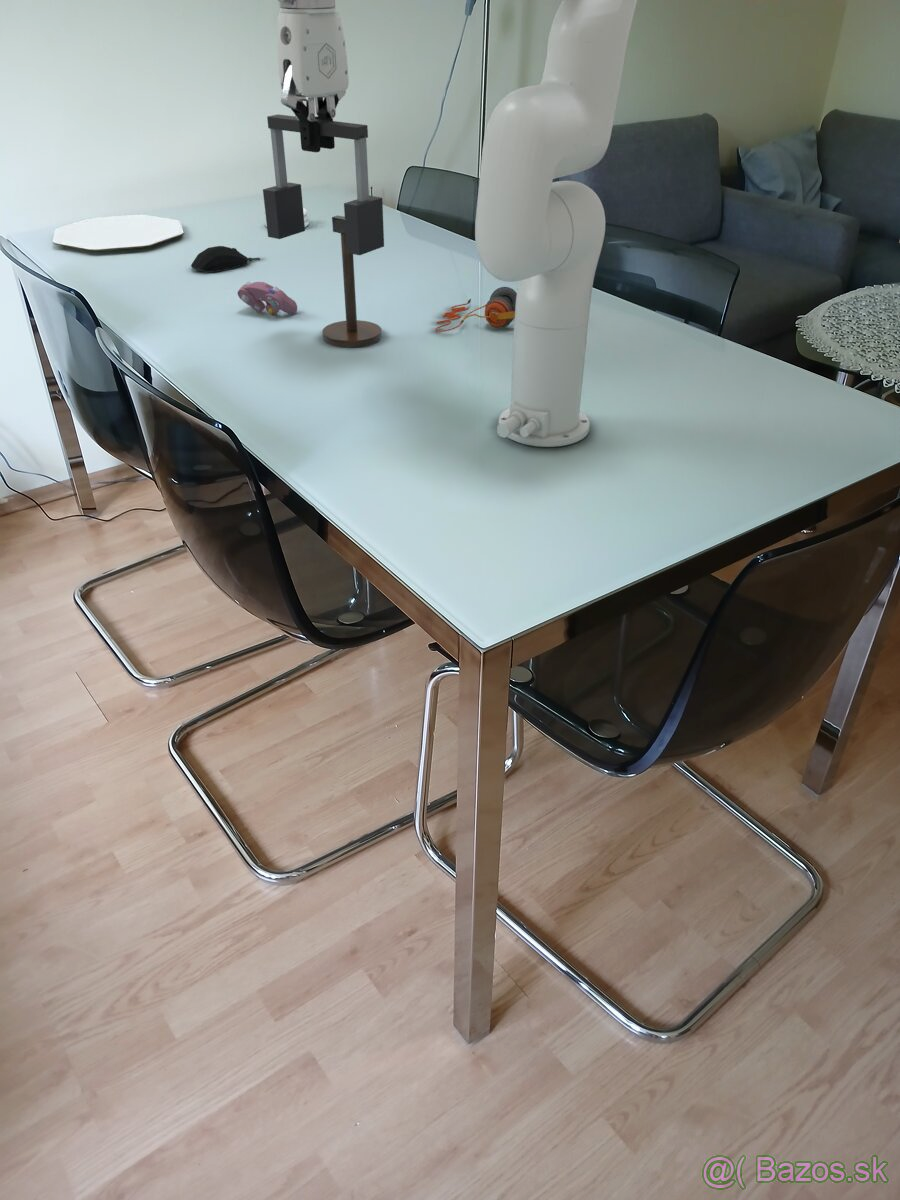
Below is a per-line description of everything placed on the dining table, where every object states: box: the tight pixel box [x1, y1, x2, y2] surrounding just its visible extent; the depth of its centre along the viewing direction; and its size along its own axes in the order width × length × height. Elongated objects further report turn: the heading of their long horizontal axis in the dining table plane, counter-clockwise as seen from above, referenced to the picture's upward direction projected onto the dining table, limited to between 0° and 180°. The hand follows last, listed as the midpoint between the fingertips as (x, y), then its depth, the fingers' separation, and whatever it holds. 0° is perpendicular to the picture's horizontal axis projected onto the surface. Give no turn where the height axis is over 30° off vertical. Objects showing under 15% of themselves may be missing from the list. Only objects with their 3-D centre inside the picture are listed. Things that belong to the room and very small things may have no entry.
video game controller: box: [237, 281, 298, 317], centre depth 163 cm, size 10×5×7 cm, turn 62°
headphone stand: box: [321, 215, 383, 349], centre depth 149 cm, size 10×10×19 cm
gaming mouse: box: [190, 245, 261, 273], centre depth 187 cm, size 6×15×4 cm, turn 127°
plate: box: [52, 214, 185, 252], centre depth 204 cm, size 28×28×2 cm
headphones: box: [435, 286, 517, 333], centre depth 160 cm, size 17×5×20 cm
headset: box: [262, 114, 385, 256], centre depth 136 cm, size 6×18×17 cm, turn 56°
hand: (318, 148), depth 134 cm, fingers closed on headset, 2 cm apart
